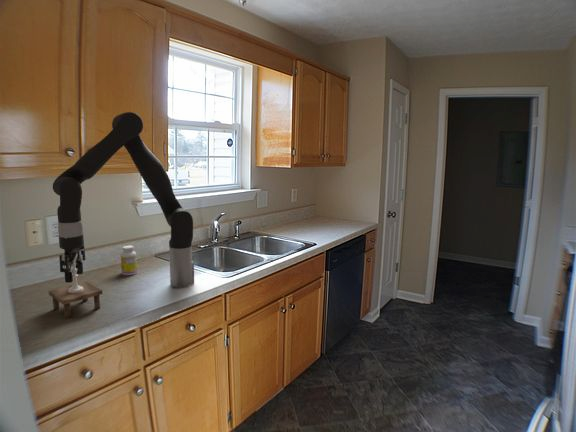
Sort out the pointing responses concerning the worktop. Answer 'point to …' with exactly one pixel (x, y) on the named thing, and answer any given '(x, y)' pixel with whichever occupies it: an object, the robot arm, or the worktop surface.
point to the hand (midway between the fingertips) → (74, 277)
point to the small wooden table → (74, 297)
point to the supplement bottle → (128, 261)
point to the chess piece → (75, 282)
